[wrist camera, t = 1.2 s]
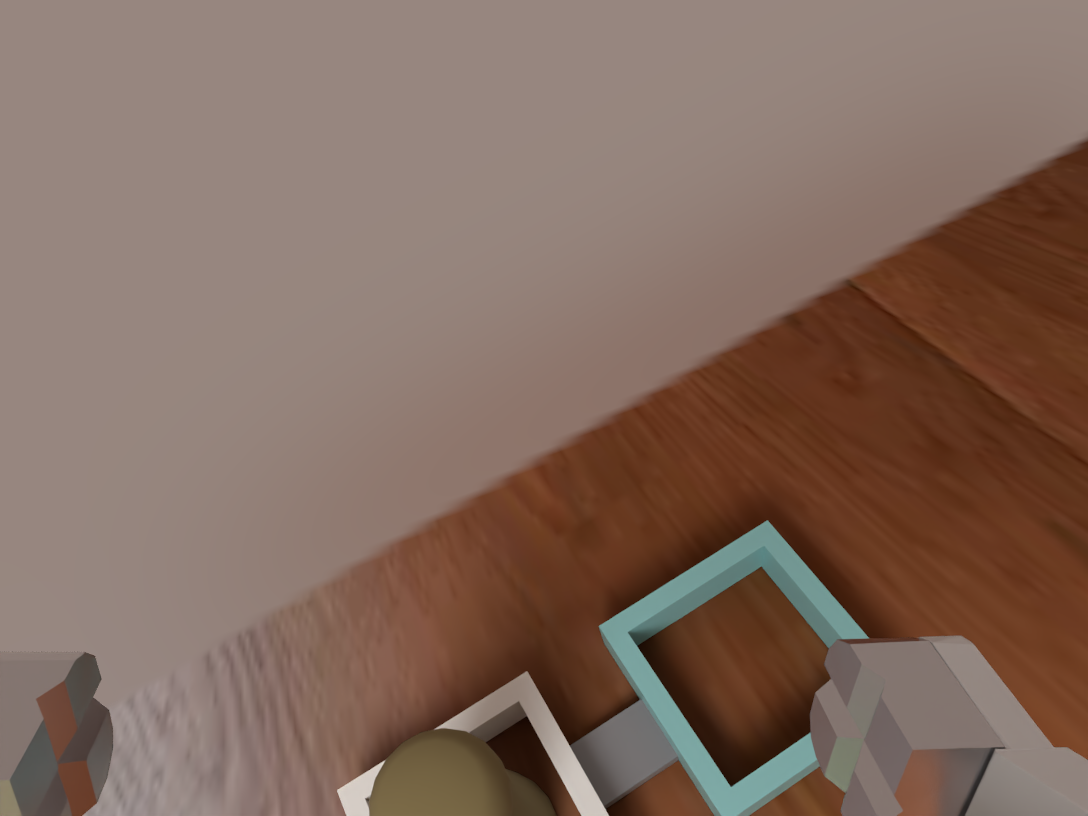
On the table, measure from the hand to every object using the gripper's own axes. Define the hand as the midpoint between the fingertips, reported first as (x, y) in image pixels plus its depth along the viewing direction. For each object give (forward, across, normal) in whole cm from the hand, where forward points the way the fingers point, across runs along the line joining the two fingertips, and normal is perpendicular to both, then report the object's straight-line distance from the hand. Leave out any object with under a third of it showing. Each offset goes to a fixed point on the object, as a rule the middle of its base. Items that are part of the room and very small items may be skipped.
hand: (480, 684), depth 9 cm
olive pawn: (+17, -2, +28) cm, 33 cm away
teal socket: (+21, -14, +22) cm, 34 cm away
